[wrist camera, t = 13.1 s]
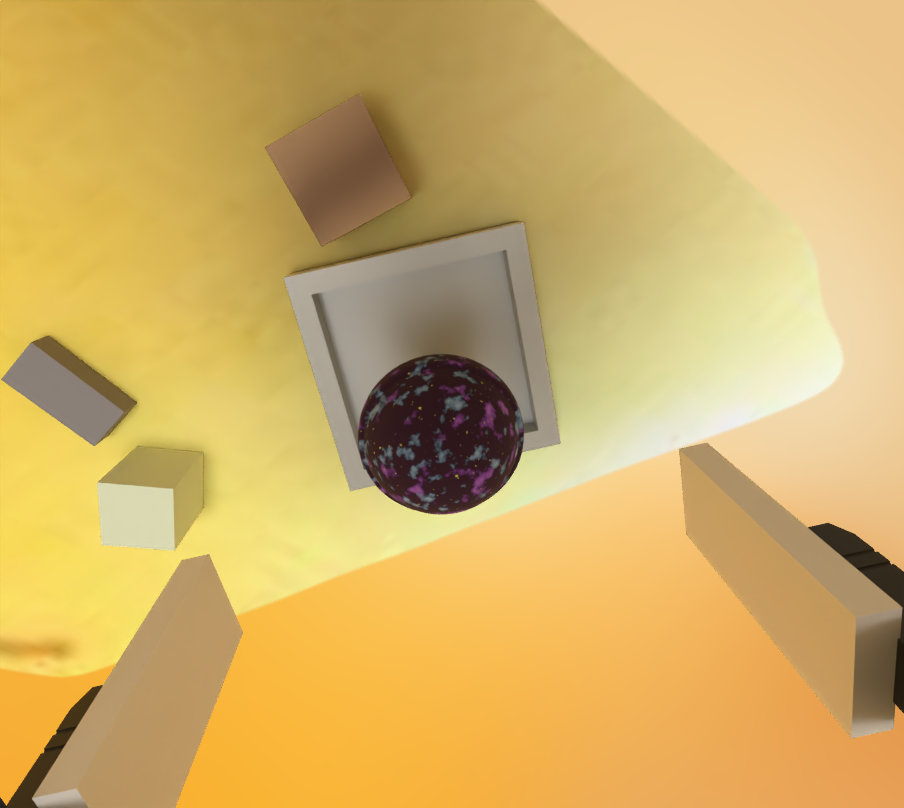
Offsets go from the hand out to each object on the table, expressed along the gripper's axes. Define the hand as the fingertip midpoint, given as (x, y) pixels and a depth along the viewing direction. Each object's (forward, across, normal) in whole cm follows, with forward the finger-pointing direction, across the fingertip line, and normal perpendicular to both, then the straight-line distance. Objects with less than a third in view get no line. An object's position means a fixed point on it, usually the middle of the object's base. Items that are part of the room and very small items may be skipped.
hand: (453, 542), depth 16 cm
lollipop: (+20, 0, 0) cm, 20 cm away
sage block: (+21, -18, -4) cm, 28 cm away
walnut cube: (+21, -2, +11) cm, 24 cm away
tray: (+21, 0, 0) cm, 21 cm away
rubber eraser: (+21, -21, +3) cm, 30 cm away
